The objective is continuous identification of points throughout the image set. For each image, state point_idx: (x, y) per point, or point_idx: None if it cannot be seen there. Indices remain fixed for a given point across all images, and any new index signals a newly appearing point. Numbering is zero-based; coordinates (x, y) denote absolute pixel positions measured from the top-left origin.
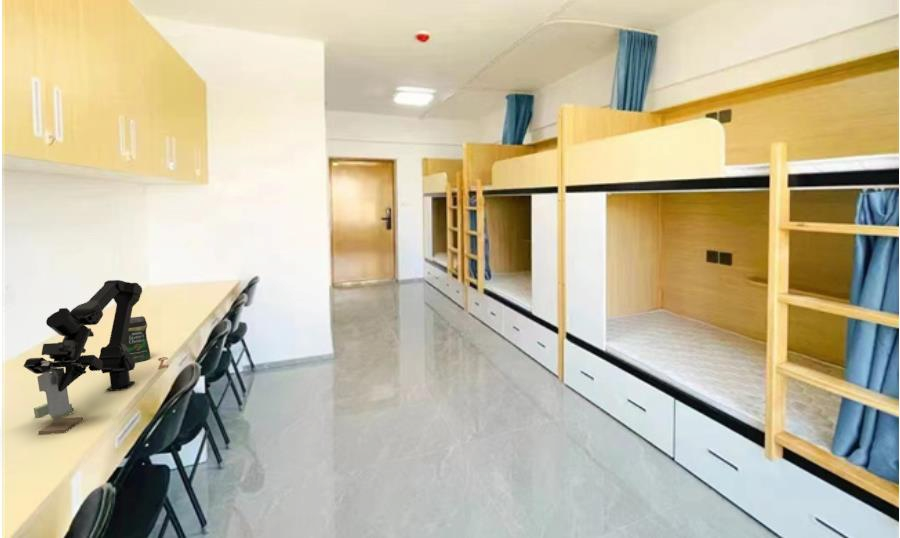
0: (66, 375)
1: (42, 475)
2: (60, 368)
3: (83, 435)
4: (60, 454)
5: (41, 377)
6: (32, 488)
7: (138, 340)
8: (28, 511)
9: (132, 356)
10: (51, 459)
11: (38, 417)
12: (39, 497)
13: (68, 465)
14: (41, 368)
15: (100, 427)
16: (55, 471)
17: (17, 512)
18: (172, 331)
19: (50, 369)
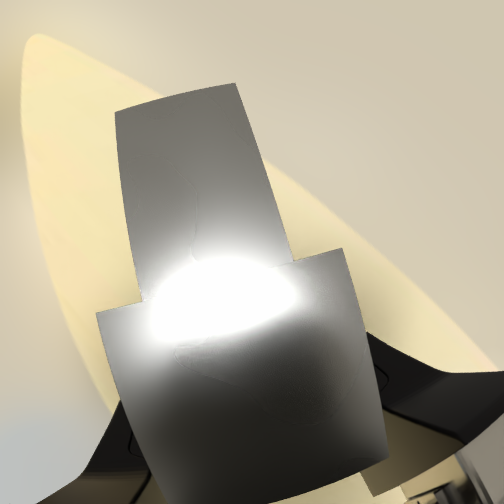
0: (123, 429)
1: (53, 93)
2: (206, 496)
3: (85, 269)
4: (69, 159)
5: (175, 108)
6: (47, 68)
7: None
8: (25, 47)
9: None
10: (75, 136)
11: None
12: (25, 64)
13: (25, 131)
14: (498, 376)
15: (77, 330)
16: (37, 109)
17: (37, 41)
18: None
19: (366, 429)
